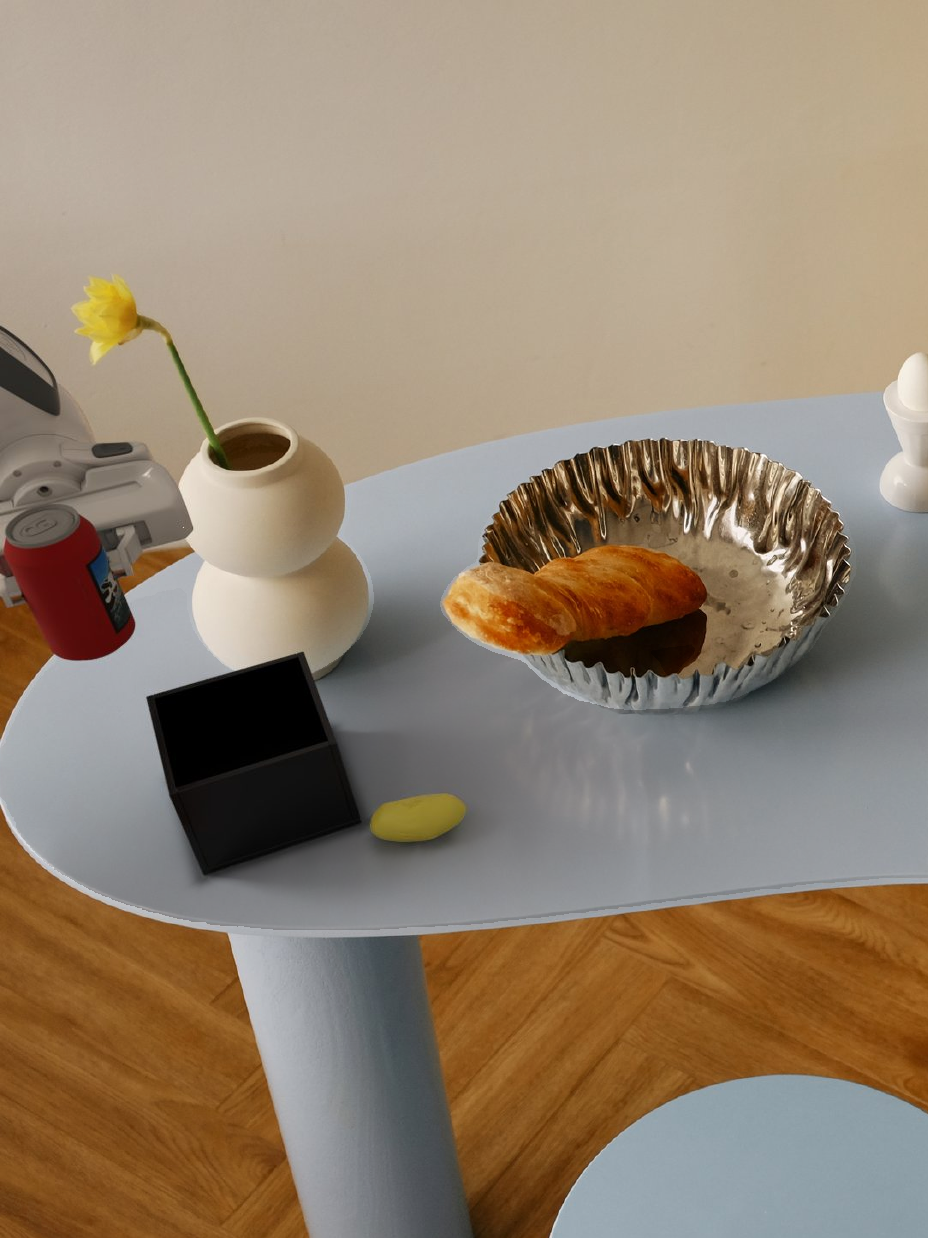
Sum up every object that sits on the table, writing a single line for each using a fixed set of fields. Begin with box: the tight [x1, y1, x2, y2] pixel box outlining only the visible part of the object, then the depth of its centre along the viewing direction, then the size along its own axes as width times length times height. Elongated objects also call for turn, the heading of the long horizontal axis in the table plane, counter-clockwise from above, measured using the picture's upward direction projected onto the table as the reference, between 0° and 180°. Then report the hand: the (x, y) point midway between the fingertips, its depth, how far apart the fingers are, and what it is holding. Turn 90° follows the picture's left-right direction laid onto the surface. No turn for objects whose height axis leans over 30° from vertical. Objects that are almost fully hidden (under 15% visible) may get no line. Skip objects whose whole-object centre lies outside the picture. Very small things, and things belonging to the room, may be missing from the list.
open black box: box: [145, 651, 363, 876], centre depth 129 cm, size 13×13×10 cm
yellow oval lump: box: [369, 792, 467, 843], centre depth 128 cm, size 4×8×4 cm, turn 100°
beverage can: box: [4, 504, 136, 662], centre depth 120 cm, size 7×7×12 cm
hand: (68, 584), depth 119 cm, fingers closed on beverage can, 6 cm apart
